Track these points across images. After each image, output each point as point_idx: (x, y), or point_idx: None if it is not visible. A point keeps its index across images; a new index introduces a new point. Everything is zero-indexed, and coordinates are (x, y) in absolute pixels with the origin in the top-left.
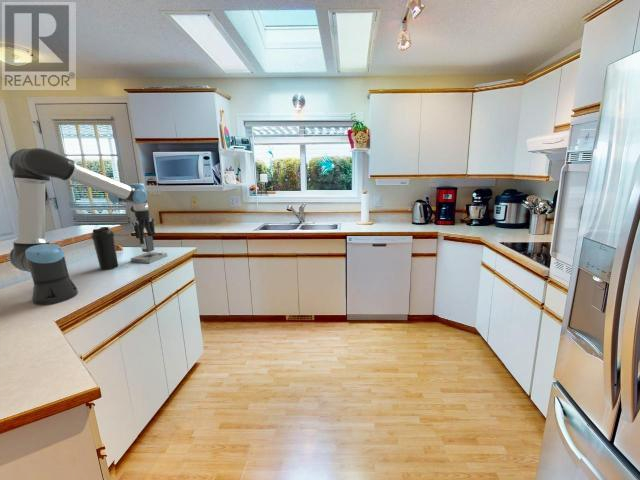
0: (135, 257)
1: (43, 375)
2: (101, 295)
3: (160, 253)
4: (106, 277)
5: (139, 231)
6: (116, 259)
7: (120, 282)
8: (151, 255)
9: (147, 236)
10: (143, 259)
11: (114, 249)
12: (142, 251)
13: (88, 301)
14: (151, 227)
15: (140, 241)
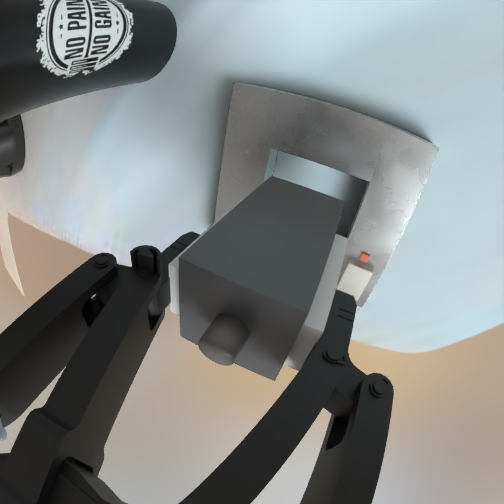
0: (260, 108)
1: (9, 264)
2: (38, 223)
3: (340, 279)
4: (70, 147)
5: (62, 361)
6: (115, 83)
7: (69, 223)
8: (365, 192)
9: (247, 342)
10: (218, 202)
11: (49, 101)
12: (270, 177)
13: (26, 216)
14: (310, 501)
15: (167, 253)
